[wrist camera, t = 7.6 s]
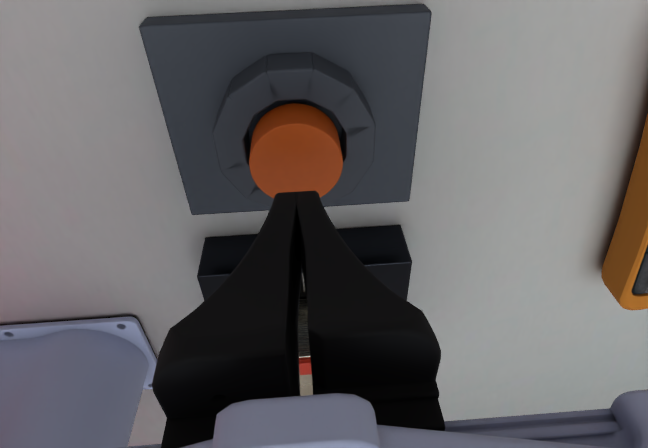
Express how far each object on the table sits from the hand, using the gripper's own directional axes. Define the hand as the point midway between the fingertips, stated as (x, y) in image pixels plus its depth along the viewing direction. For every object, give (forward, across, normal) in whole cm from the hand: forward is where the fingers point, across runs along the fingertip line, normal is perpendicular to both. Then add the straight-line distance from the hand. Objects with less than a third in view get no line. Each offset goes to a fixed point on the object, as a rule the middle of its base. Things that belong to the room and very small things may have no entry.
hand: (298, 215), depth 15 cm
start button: (+5, 0, 0) cm, 5 cm away
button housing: (+7, 0, 0) cm, 7 cm away
